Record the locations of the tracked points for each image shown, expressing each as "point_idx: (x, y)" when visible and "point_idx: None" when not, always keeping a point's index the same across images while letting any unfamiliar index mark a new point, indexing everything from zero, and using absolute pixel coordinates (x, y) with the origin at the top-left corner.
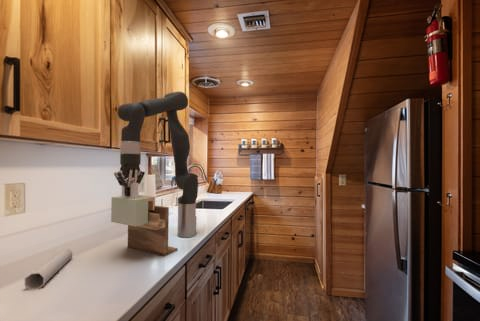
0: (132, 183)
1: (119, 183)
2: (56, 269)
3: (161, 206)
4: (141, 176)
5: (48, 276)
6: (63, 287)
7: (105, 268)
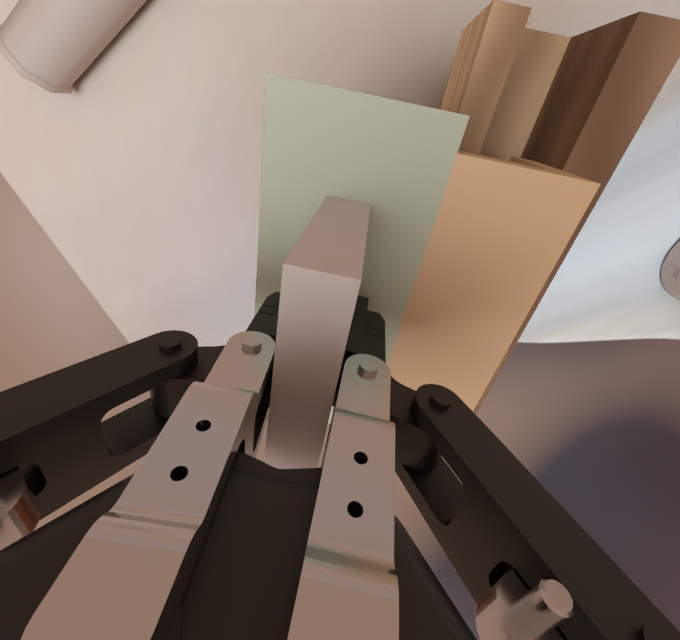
0: (265, 460)
1: (128, 354)
2: (121, 19)
3: (480, 399)
4: (480, 586)
5: (79, 65)
6: (117, 153)
7: (259, 169)
